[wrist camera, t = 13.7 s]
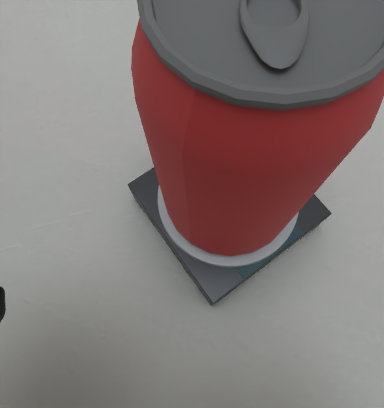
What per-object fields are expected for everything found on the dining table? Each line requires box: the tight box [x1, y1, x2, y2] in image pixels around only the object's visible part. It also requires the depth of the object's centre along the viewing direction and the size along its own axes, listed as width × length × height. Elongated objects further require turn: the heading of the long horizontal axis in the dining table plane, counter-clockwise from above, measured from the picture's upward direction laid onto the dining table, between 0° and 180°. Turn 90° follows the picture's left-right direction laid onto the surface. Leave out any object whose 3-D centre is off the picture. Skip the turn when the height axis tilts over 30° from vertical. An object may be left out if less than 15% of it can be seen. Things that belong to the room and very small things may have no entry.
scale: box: [128, 167, 331, 306], centre depth 19 cm, size 8×8×2 cm
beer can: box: [131, 0, 384, 256], centre depth 12 cm, size 7×7×12 cm
